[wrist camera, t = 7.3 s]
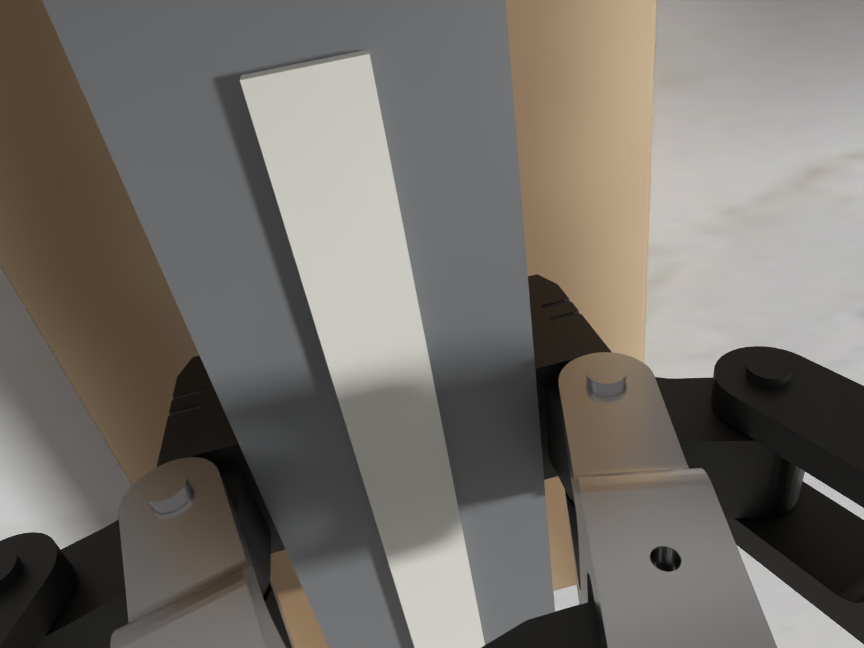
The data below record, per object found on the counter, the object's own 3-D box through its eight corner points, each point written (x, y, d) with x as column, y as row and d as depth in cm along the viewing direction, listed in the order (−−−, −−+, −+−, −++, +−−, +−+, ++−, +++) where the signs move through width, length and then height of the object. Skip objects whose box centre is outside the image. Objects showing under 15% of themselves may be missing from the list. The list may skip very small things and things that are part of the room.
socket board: (589, -476, 10) (676, -592, 7) (602, 505, 21) (637, 566, 19) (-256, -357, 9) (-433, -454, 6) (251, 602, 20) (248, 678, 18)
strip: (371, -196, 10) (487, -352, 5) (481, 485, 19) (567, 718, 13) (120, -153, 10) (-90, -265, 4) (350, 520, 19) (381, 775, 13)
